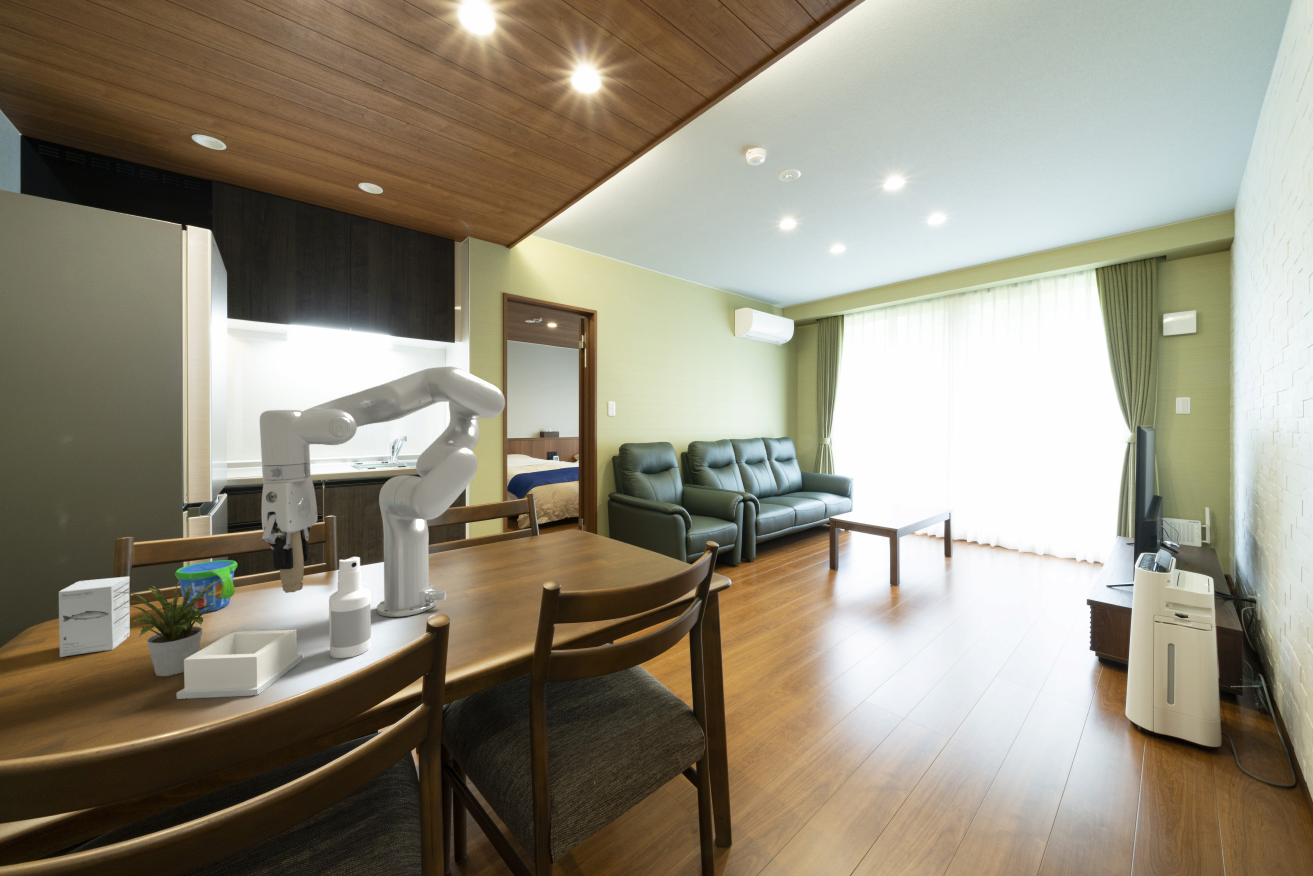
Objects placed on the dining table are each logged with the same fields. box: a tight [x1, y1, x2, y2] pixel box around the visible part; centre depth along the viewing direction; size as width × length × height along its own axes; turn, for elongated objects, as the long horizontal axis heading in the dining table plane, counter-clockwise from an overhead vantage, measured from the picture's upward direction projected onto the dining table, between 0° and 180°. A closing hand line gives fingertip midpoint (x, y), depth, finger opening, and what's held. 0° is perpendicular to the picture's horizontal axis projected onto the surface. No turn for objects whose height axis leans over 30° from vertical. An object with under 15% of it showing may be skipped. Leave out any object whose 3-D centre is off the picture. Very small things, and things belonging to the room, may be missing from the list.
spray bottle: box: [328, 556, 372, 659], centre depth 95 cm, size 7×7×18 cm
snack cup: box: [174, 559, 238, 615], centre depth 115 cm, size 16×10×10 cm
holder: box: [176, 629, 304, 700], centre depth 85 cm, size 12×12×6 cm
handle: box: [278, 530, 305, 594], centre depth 97 cm, size 5×6×15 cm
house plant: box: [118, 576, 220, 677], centre depth 87 cm, size 14×14×16 cm
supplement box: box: [58, 576, 131, 658], centre depth 96 cm, size 7×7×13 cm
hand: (291, 563), depth 97 cm, fingers closed on handle, 4 cm apart
